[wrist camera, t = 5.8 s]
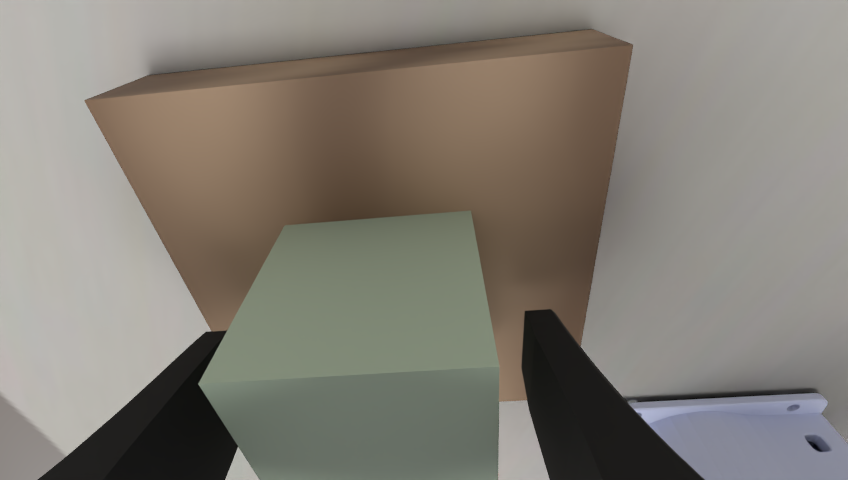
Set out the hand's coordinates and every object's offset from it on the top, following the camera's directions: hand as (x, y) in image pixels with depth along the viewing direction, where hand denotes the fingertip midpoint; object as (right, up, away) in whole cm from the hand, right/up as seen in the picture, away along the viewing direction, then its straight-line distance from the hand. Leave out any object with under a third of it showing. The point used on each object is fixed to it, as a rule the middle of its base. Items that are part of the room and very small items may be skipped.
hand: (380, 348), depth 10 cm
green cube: (0, +1, +2) cm, 2 cm away
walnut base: (0, +3, +4) cm, 5 cm away
